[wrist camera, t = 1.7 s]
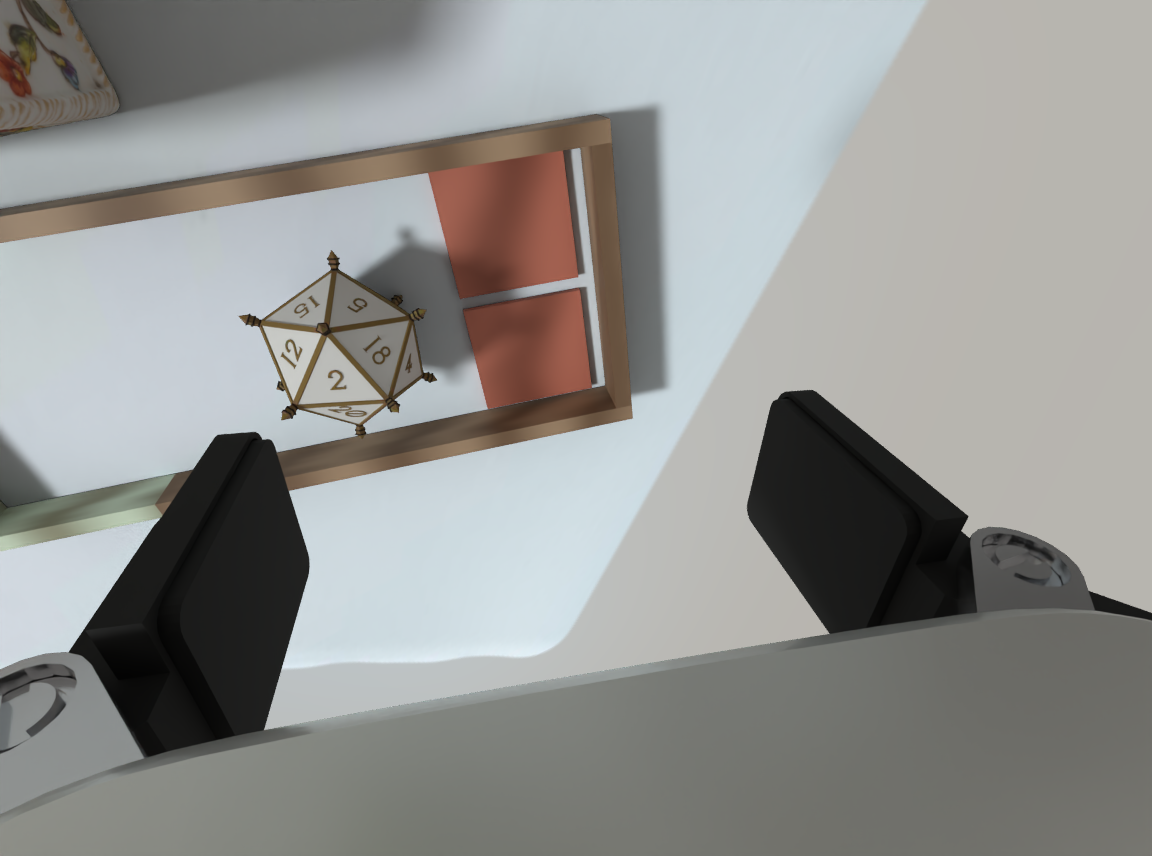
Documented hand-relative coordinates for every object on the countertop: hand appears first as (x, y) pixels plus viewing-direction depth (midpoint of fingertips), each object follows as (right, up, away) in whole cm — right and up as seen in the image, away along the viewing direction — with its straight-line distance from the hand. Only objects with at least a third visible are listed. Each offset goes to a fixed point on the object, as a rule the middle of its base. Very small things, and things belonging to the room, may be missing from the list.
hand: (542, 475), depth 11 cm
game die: (-12, +7, +21) cm, 25 cm away
